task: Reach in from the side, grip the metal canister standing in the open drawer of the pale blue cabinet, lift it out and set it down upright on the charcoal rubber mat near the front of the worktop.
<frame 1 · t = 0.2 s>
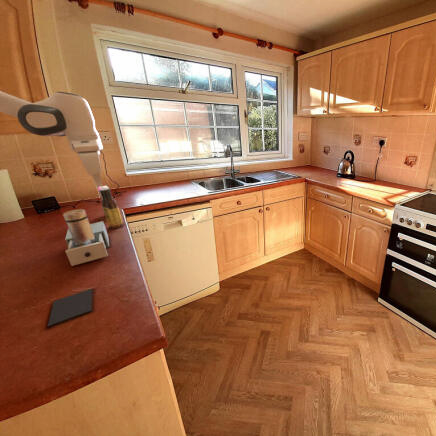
hand: (99, 184, 89), 28 cm above the countertop, tool pointing down, fingers open, 8 cm apart
drawer: (88, 248, 95), point 4 cm above the countertop, slide at 9.5 cm, touching metal canister
sauce bottle: (116, 227, 124), on the countertop
candy bar box: (112, 216, 139), on the countertop
metal canister: (89, 252, 96), point 2 cm above the countertop, touching drawer
mat: (72, 306, 70), on the countertop
cabinet: (91, 245, 105), on the countertop
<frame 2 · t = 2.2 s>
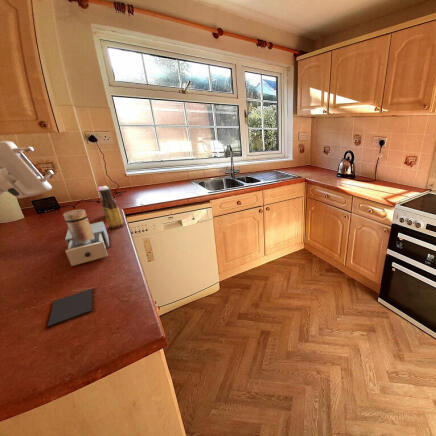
hand: (41, 160, 90), 37 cm above the countertop, tool pointing upward, fingers open, 8 cm apart
nothing on the countertop moved.
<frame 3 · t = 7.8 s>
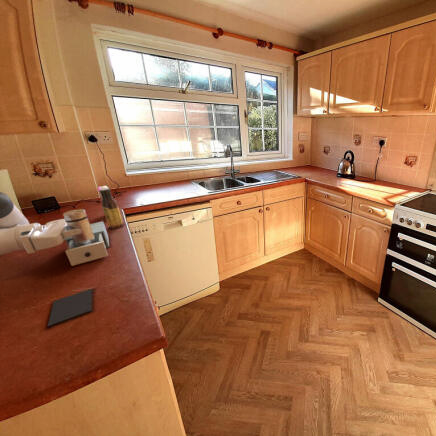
hand: (83, 227, 92), 13 cm above the countertop, tool horizontal, fingers closed on metal canister, 6 cm apart
metal canister: (89, 252, 96), point 2 cm above the countertop, touching drawer, gripper
everything else where it was.
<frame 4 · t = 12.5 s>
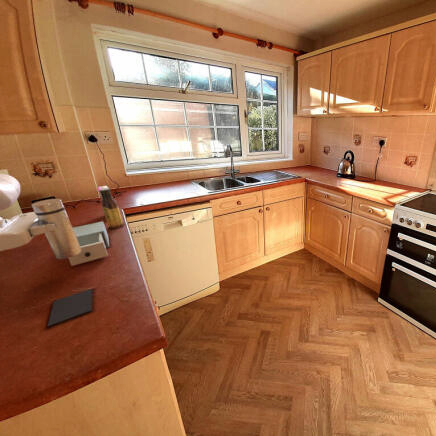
hand: (59, 221, 72), 22 cm above the countertop, tool horizontal, fingers closed on metal canister, 6 cm apart
drawer: (88, 248, 95), point 4 cm above the countertop, slide at 9.4 cm
metal canister: (69, 253, 76), point 11 cm above the countertop, touching gripper
everything else where it was.
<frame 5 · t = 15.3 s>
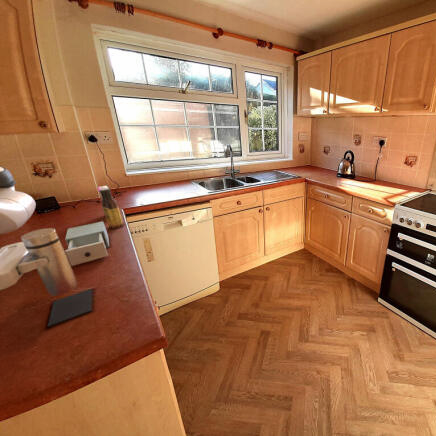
hand: (52, 254, 64), 17 cm above the countertop, tool horizontal, fingers closed on metal canister, 6 cm apart
metal canister: (64, 288, 68), point 6 cm above the countertop, touching gripper
everything else where it was.
when the fingers open (11 cm above the countertop, at t = 17.5 s): metal canister stays where it is, resting on mat.
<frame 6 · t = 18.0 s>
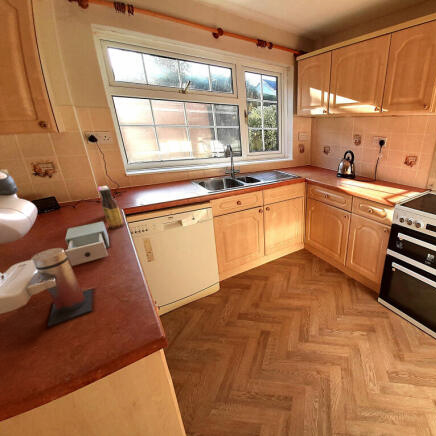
hand: (60, 272, 66), 11 cm above the countertop, tool horizontal, fingers open, 8 cm apart
metal canister: (72, 305, 70), resting on mat
everything else where it was.
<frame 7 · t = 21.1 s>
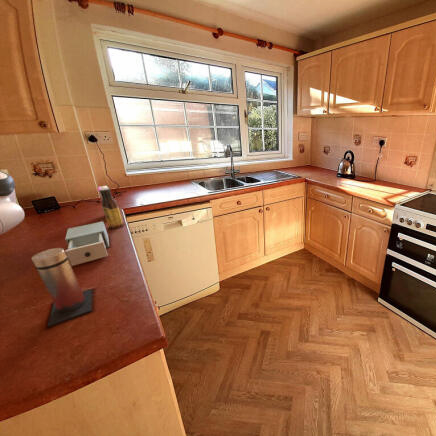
nothing on the countertop moved.
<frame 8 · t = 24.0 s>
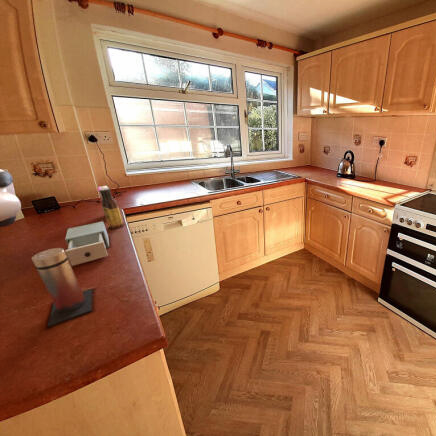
nothing on the countertop moved.
at the end: metal canister inside the target area on the mat (0.1 cm from its centre), point 0.4 cm above the mat's base; metal canister tilted 0°; the gripper is holding nothing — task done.
